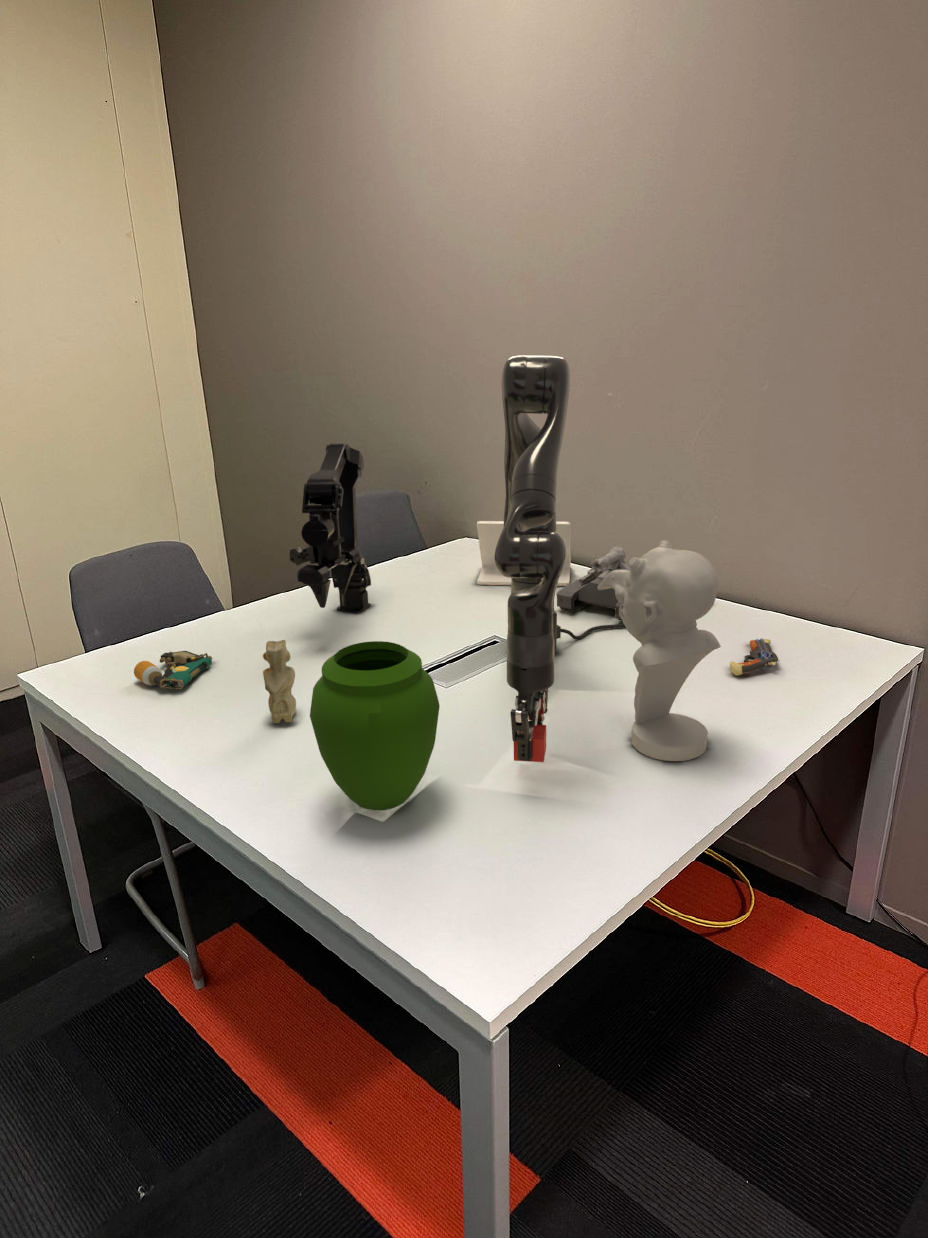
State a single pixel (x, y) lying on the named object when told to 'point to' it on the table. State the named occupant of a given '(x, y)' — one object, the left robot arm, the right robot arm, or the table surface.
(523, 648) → the right robot arm
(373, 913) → the table surface
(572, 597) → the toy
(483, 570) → the tablet stand
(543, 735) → the brick
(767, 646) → the toy gun
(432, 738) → the vase
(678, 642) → the bust sculpture
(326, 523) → the left robot arm
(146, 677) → the spray gun
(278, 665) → the sculpture
